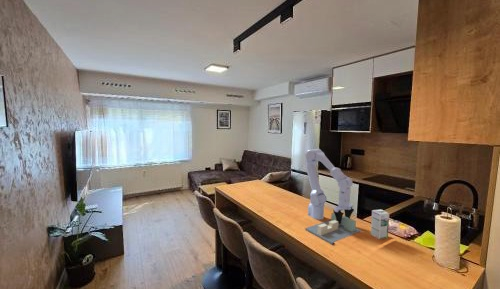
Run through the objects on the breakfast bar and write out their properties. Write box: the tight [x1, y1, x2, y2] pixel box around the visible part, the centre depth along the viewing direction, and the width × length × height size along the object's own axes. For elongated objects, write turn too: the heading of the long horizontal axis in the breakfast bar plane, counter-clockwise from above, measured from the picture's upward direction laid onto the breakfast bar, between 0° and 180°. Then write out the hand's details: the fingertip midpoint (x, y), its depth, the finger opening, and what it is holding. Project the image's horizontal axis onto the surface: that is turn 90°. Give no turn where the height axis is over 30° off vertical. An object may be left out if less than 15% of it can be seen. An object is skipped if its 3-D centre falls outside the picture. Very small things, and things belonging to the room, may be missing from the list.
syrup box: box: [370, 209, 390, 240], centre depth 120 cm, size 6×6×14 cm
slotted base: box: [304, 219, 363, 245], centre depth 127 cm, size 18×26×6 cm
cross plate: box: [330, 212, 357, 232], centre depth 131 cm, size 14×3×6 cm, turn 32°
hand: (343, 221), depth 131 cm, fingers open, 7 cm apart
